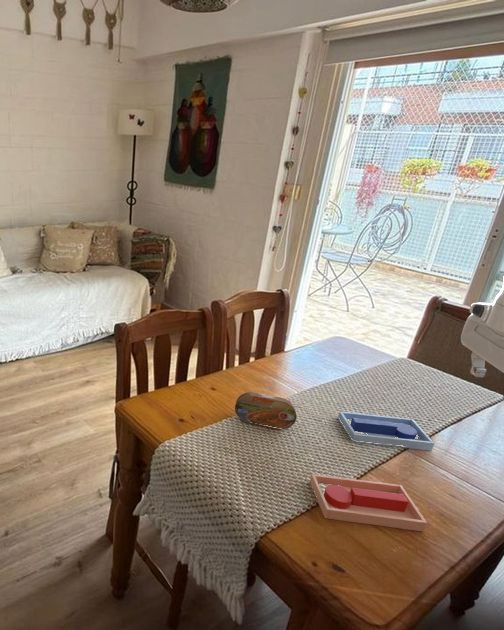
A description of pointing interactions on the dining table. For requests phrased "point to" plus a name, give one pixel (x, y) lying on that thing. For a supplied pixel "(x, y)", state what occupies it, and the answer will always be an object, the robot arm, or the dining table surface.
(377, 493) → the red spoon
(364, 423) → the blue spoon
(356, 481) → the pink tray
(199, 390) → the dining table surface
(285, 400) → the tin
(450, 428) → the dining table surface
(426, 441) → the blue tray
